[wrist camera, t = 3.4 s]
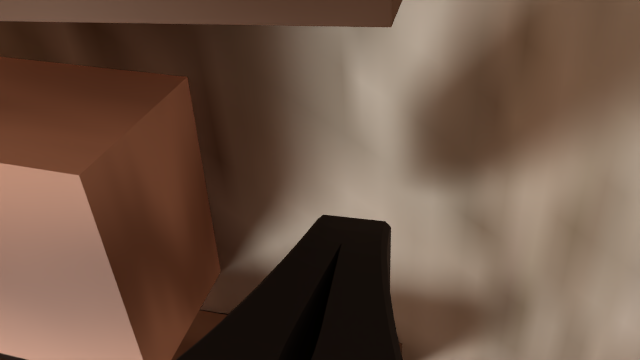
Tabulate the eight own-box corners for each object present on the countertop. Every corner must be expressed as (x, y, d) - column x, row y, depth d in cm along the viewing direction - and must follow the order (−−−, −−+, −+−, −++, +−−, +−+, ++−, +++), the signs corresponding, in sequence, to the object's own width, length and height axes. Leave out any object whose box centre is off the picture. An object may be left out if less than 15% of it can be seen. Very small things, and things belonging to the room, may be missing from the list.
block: (223, 267, 15) (153, 390, 12) (45, 233, 16) (-63, 337, 13) (191, 73, 11) (79, 174, 8) (-35, 49, 12) (-209, 130, 9)
